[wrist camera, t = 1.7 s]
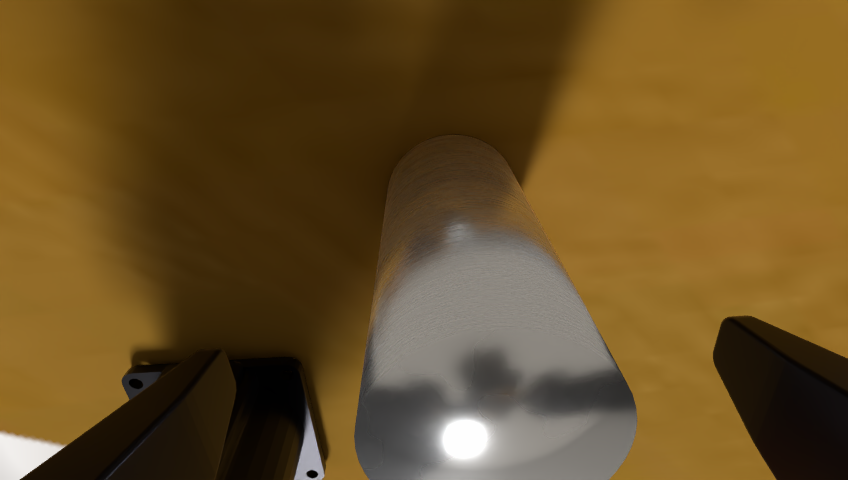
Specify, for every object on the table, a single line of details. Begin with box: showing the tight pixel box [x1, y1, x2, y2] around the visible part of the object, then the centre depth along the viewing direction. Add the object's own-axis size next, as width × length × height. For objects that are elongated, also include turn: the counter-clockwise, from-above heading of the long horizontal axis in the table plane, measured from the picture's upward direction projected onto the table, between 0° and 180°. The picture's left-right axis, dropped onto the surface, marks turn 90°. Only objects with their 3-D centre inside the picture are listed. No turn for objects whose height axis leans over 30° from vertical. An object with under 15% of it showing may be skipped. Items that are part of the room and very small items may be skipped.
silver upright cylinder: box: [354, 135, 637, 480], centre depth 11 cm, size 4×4×9 cm
